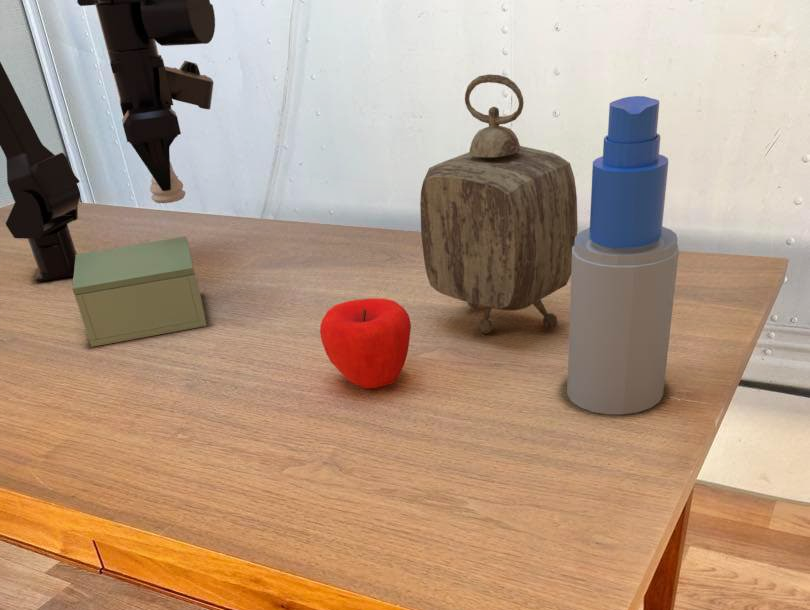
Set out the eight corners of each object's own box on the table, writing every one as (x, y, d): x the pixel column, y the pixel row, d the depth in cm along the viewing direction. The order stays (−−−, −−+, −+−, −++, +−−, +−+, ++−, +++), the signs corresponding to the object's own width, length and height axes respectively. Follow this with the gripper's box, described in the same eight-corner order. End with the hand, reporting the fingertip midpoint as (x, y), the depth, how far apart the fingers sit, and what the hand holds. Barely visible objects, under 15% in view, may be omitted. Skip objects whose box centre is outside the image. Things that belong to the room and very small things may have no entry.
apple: (311, 391, 86) (298, 317, 81) (362, 355, 91) (353, 285, 87) (382, 409, 81) (373, 333, 77) (431, 371, 87) (426, 298, 82)
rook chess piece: (145, 203, 109) (127, 136, 104) (164, 193, 112) (148, 128, 108) (174, 204, 108) (158, 136, 103) (193, 194, 111) (178, 128, 106)
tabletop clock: (574, 326, 93) (583, 69, 78) (524, 357, 88) (523, 89, 73) (471, 300, 101) (462, 63, 86) (421, 327, 96) (401, 81, 81)
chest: (94, 314, 108) (78, 266, 104) (200, 295, 110) (189, 247, 106) (91, 347, 100) (74, 295, 96) (206, 326, 102) (194, 274, 98)
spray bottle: (575, 367, 85) (586, 90, 70) (667, 373, 82) (699, 87, 67) (558, 410, 78) (566, 115, 63) (657, 418, 76) (691, 112, 61)
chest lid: (77, 260, 104) (75, 254, 104) (187, 242, 107) (186, 235, 106) (74, 295, 96) (72, 288, 95) (194, 274, 98) (192, 267, 97)
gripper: (208, 47, 94) (236, 193, 103) (193, 31, 108) (219, 160, 118) (106, 61, 92) (144, 209, 101) (104, 42, 106) (138, 173, 116)
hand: (165, 186), depth 109 cm, fingers closed on rook chess piece, 4 cm apart
